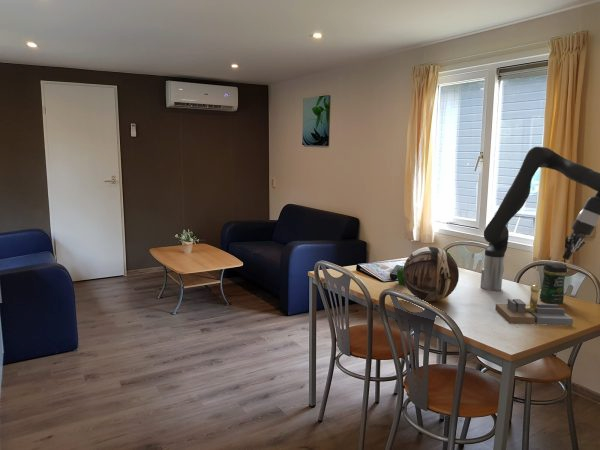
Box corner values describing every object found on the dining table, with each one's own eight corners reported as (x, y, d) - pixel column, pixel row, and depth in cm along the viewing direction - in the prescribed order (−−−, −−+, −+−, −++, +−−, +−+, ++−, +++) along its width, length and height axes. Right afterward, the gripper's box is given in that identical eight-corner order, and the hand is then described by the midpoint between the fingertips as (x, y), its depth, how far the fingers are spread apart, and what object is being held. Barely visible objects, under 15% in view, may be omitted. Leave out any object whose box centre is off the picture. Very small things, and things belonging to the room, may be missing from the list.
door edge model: (553, 312, 205) (554, 296, 203) (572, 325, 189) (574, 309, 188) (495, 310, 206) (496, 294, 205) (509, 323, 190) (510, 307, 189)
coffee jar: (547, 304, 214) (551, 265, 211) (536, 299, 222) (540, 261, 219) (566, 303, 216) (571, 265, 213) (555, 298, 224) (559, 260, 220)
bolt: (535, 309, 198) (538, 284, 196) (539, 312, 195) (542, 286, 193) (514, 308, 199) (516, 283, 197) (517, 311, 195) (520, 285, 193)
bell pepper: (393, 282, 244) (394, 264, 243) (406, 281, 248) (407, 262, 246) (403, 287, 237) (404, 268, 235) (416, 285, 240) (417, 266, 239)
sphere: (460, 311, 204) (464, 255, 199) (401, 306, 209) (404, 251, 204) (453, 293, 228) (457, 243, 224) (401, 289, 233) (403, 240, 228)
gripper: (584, 220, 200) (564, 256, 204) (570, 215, 192) (549, 253, 197) (601, 228, 194) (580, 264, 199) (587, 223, 186) (566, 261, 191)
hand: (565, 258), depth 198 cm, fingers closed
